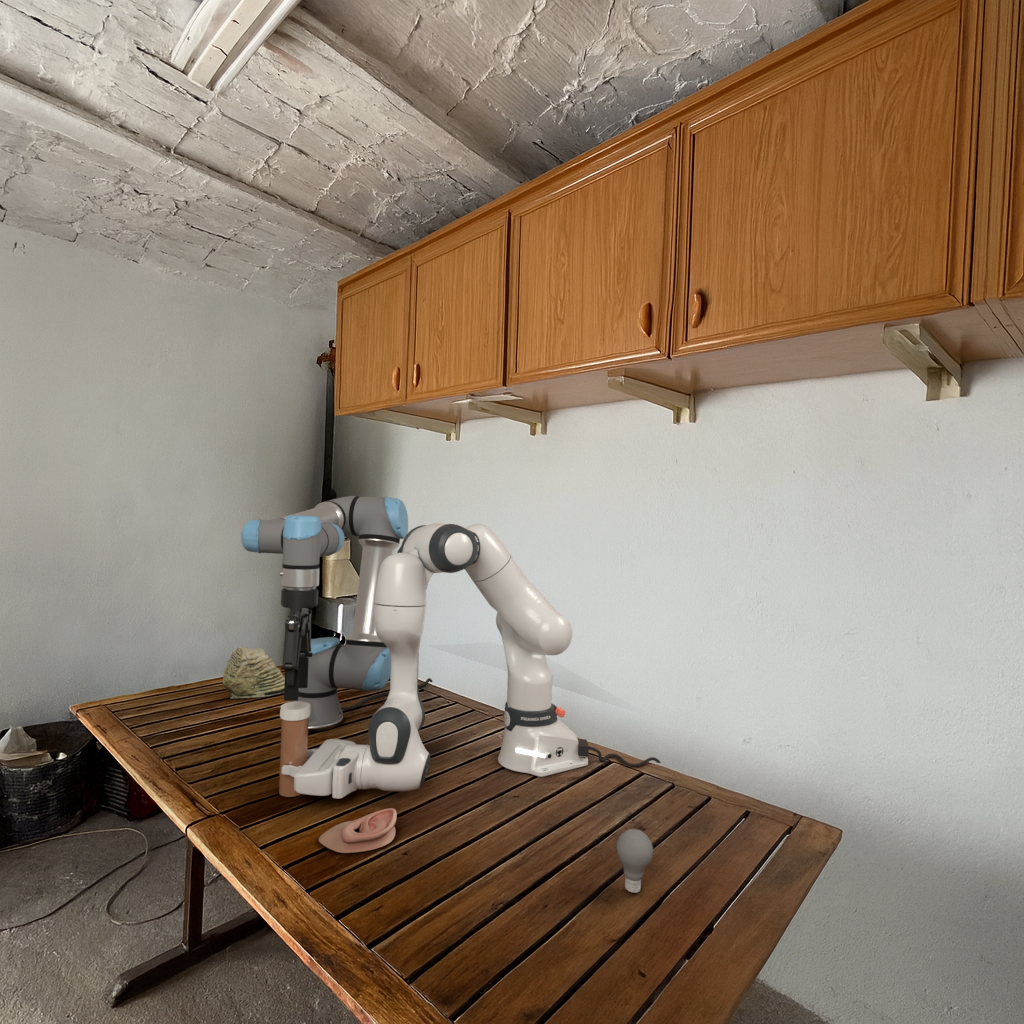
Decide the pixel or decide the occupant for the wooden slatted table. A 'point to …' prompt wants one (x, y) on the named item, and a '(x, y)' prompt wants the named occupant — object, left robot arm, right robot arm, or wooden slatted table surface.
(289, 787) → the jar
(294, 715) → the lid
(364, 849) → the anatomical model
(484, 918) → the wooden slatted table surface
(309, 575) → the left robot arm
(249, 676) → the fossil
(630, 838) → the light bulb
